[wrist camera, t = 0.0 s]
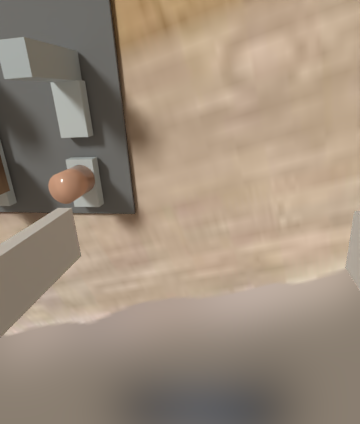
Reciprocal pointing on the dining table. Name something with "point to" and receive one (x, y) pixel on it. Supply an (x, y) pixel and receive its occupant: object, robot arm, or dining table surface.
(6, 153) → the mat
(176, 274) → the dining table surface
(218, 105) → the dining table surface
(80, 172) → the peach egg shape
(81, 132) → the broken strip
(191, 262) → the dining table surface
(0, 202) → the grey stepped bracket
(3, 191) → the block
